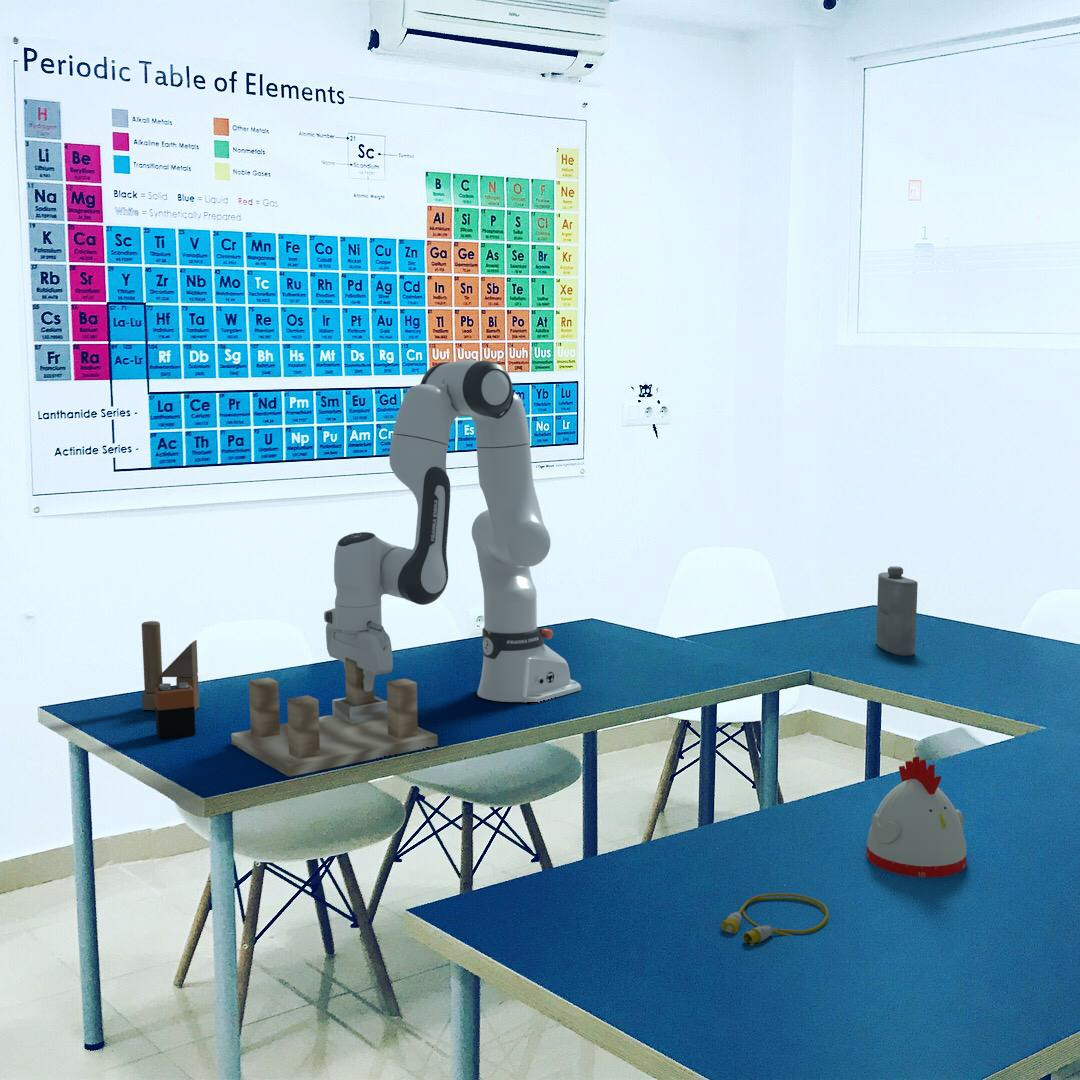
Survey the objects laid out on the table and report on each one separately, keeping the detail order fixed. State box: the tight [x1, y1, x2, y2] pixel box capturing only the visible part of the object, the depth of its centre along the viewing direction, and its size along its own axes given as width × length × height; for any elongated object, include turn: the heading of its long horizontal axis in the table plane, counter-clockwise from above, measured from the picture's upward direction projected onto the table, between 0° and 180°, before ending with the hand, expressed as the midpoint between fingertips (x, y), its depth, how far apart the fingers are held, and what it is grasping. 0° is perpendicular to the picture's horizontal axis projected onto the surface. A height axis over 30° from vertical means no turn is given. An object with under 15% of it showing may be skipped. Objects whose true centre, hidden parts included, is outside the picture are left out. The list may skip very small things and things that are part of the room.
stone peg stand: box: [231, 677, 439, 778], centre depth 250 cm, size 30×24×12 cm
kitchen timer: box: [865, 756, 967, 878], centre depth 194 cm, size 14×14×15 cm
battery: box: [154, 682, 197, 740], centre depth 257 cm, size 4×7×10 cm, turn 114°
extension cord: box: [720, 892, 830, 947], centre depth 175 cm, size 12×16×2 cm
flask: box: [875, 565, 918, 657], centre depth 325 cm, size 15×6×20 cm, turn 9°
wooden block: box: [141, 620, 200, 711], centre depth 274 cm, size 4×11×18 cm, turn 87°
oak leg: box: [344, 658, 375, 707], centre depth 262 cm, size 4×4×10 cm
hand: (360, 687), depth 262 cm, fingers closed on oak leg, 4 cm apart
